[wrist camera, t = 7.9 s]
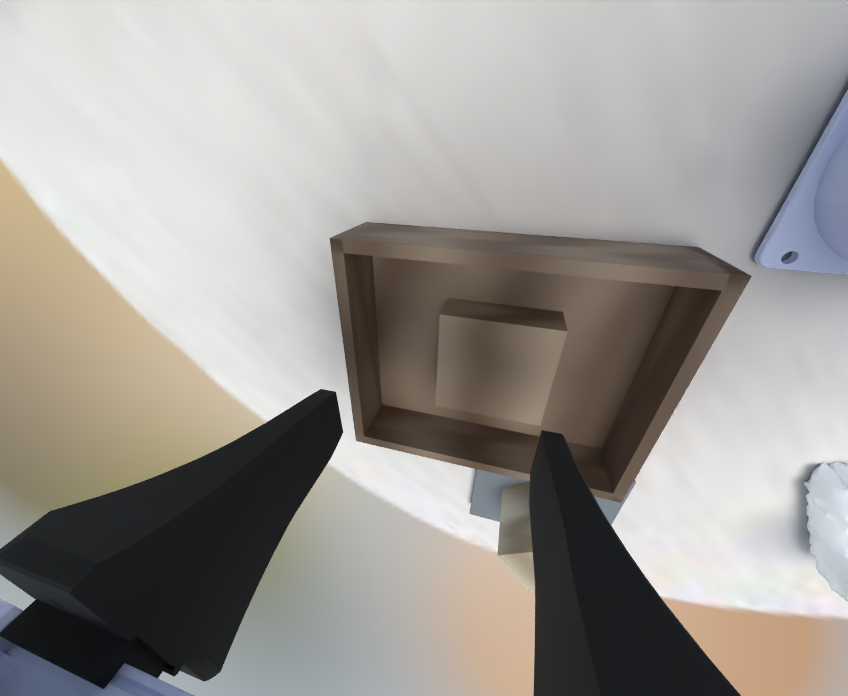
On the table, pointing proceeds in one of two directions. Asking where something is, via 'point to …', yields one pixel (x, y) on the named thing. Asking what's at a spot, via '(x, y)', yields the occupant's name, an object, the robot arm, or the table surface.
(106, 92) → the table surface
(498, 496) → the slate mat
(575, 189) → the table surface
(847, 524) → the white creature statuette
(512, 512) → the metal block
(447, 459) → the walnut crate
